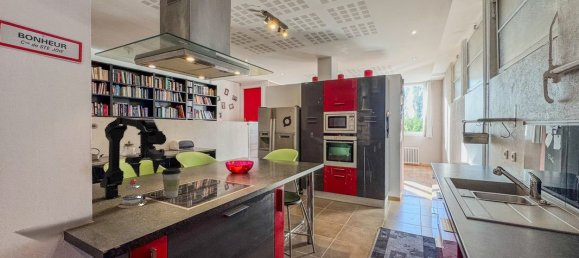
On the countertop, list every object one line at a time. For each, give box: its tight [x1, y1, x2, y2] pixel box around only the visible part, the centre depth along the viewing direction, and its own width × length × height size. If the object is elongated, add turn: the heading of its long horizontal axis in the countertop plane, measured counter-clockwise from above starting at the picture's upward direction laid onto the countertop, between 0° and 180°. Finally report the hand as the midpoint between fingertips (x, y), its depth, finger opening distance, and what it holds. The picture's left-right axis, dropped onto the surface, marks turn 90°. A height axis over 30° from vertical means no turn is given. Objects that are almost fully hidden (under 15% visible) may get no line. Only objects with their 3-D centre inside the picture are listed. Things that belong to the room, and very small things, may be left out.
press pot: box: [118, 193, 148, 209], centre depth 124 cm, size 12×12×4 cm
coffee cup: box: [161, 167, 182, 199], centre depth 138 cm, size 10×10×15 cm
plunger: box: [125, 178, 141, 190], centre depth 124 cm, size 6×6×4 cm
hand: (147, 175), depth 124 cm, fingers open, 9 cm apart
